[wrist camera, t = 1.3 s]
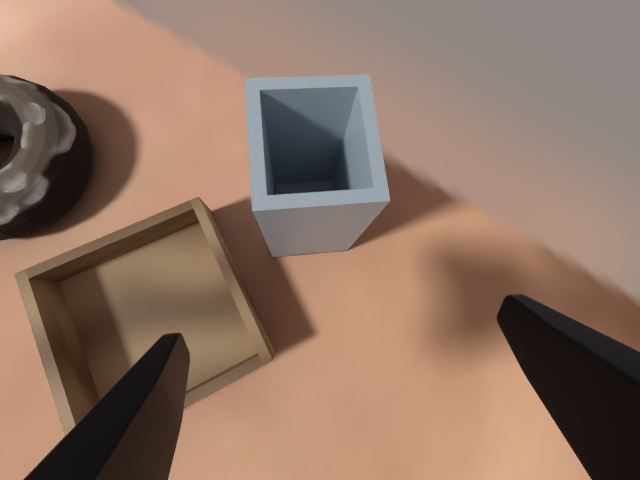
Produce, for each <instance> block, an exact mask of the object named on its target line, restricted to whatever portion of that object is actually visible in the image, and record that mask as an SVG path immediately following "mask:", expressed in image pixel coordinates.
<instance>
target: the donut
mask: <svg viewBox="0 0 640 480" xmlns="http://www.w3.org/2000/svg"><path fill="white" fill-rule="evenodd" d="M7 137H14V145H13V150H12V152H11V154H10V156H9V158H8V159H7V160H6V161H5V163H4V164H3V165H2V166H1V167H0V240H5V239H10V238H16V237H20V236H24V235H26V234H29V233H31V232H33V231H35V230H38V229H40V228H42V227H44V226H46V225H48V224H50V223H51V222H52V221H54V220H55V219H56V218H58V217H59V216H60V215H61V214H63V213H64V212H65V211H67V210H68V209H69V208H70V206H71V205H72V204H73V203H74V201H75V200H76V199H77V198H78V196H79V195H80V194H81V192H82V191H83V189H84V187H85V185H86V182H87V180H88V177H89V175H90V172H91V168H92V155H93V149H92V145H91V142H90V138H89V135H88V131H87V127H86V126H85V124H84V123H83V121H82V120H81V119H80V117H79V116H78V114H77V113H76V112H75V110H74V109H73V108H72V106H71V105H70V104H69V103H67V102H66V101H65V100H63V99H62V98H60V97H59V96H58V95H56V94H55V93H53V92H52V91H50V90H49V89H48V88H46V87H45V86H42V85H39V84H36V83H33V82H30V81H27V80H25V79H22V78H19V77H16V76H10V75H0V140H1V139H4V138H7Z"/></svg>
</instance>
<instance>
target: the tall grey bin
mask: <svg viewBox="0 0 640 480" xmlns="http://www.w3.org/2000/svg"><path fill="white" fill-rule="evenodd" d="M244 80H245V97H246V114H247V131H248V148H249V166H250V183H251V200H252V212H253V214H254V216H255V219H256V221H257V223H258V225H259V228H260V230H261V232H262V234H263V237H264V239H265V241H266V243H267V246H268V248H269V250H270V252H271V255H272V257H284V256H295V255H306V254H317V253H328V252H339V251H347V250H348V249H349V248H350V247H351V246H352V245H353V243H354V242H355V241H356V240H357V239H358V238H359V237H360V235H361V234H362V233H363V232H364V231H365V230H366V228H367V227H368V226H369V225H370V224H371V223H372V222H373V220H374V219H375V218H376V217H377V216H378V215H379V214H380V212H381V211H382V210H383V209H384V208H385V207H386V206H387V204H388V203H389V202H390V195H389V189H388V183H387V177H386V171H385V165H384V159H383V153H382V147H381V141H380V135H379V129H378V123H377V117H376V111H375V105H374V99H373V93H372V87H371V81H370V75H339V76H308V77H307V76H306V77H275V78H274V77H273V78H244Z"/></svg>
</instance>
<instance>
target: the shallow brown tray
mask: <svg viewBox="0 0 640 480" xmlns="http://www.w3.org/2000/svg"><path fill="white" fill-rule="evenodd" d="M15 277H16V281H17V284H18V287H19V290H20V293H21V297H22V300H23V303H24V306H25V309H26V312H27V316H28V319H29V322H30V325H31V328H32V332H33V335H34V338H35V341H36V344H37V347H38V351H39V354H40V357H41V360H42V363H43V367H44V370H45V373H46V376H47V379H48V382H49V386H50V389H51V392H52V395H53V398H54V402H55V405H56V408H57V411H58V414H59V418H60V421H61V424H62V427H63V430H64V433H65V436H66V435H67V434H68V433H69V432H70V431H71V430H72V429H73V428H74V427H75V426H76V424H77V423H78V422H79V421H80V420H81V419H82V418H83V417H84V416H85V415H86V414H87V413H88V412H89V411H90V410H91V409H92V408H93V407H94V406H95V405H96V404H97V403H98V402H99V401H100V400H101V399H102V397H103V396H104V395H105V394H106V393H107V392H108V391H109V390H110V389H111V388H112V387H113V386H114V385H115V384H116V383H117V382H118V381H119V380H120V379H121V378H122V377H123V376H124V375H125V374H126V373H127V371H128V370H129V369H130V368H131V367H132V366H133V365H134V364H135V363H136V362H137V361H138V360H139V359H140V358H141V357H142V356H143V355H144V354H145V353H146V352H147V351H148V350H149V349H150V348H151V347H152V345H153V344H154V343H155V342H156V341H157V340H158V339H159V338H160V337H161V336H163V335H164V334H168V333H177V332H179V333H181V334H182V335H183V337H184V340H185V342H186V345H187V347H188V350H189V353H190V365H189V373H188V380H187V388H186V395H185V403H184V408H185V407H187V406H189V405H190V404H192V403H194V402H196V401H198V400H200V399H201V398H203V397H205V396H207V395H209V394H211V393H213V392H214V391H216V390H218V389H220V388H222V387H224V386H225V385H227V384H229V383H231V382H233V381H235V380H236V379H238V378H240V377H242V376H244V375H246V374H248V373H249V372H251V371H253V370H255V369H257V368H259V367H260V366H262V365H264V364H266V363H268V362H270V361H272V360H273V358H274V356H275V354H276V352H275V350H274V348H273V346H272V343H271V341H270V339H269V337H268V335H267V332H266V330H265V328H264V326H263V324H262V322H261V319H260V317H259V315H258V313H257V311H256V308H255V306H254V304H253V302H252V300H251V297H250V295H249V293H248V291H247V289H246V286H245V284H244V282H243V280H242V278H241V275H240V273H239V271H238V269H237V267H236V265H235V262H234V260H233V258H232V256H231V254H230V251H229V249H228V247H227V245H226V243H225V240H224V238H223V236H222V234H221V232H220V229H219V227H218V225H217V223H216V221H215V218H214V216H213V214H212V212H211V210H210V209H209V208H208V207H207V206H206V205H205V203H204V202H203V201H202V200H201V199H200V198H199V197H197V198H194V199H192V200H189V201H187V202H185V203H182V204H180V205H178V206H175V207H173V208H170V209H168V210H166V211H163V212H161V213H158V214H156V215H154V216H151V217H149V218H147V219H144V220H142V221H139V222H137V223H135V224H132V225H130V226H127V227H125V228H123V229H120V230H118V231H116V232H113V233H111V234H108V235H106V236H104V237H101V238H99V239H96V240H94V241H92V242H89V243H87V244H85V245H82V246H80V247H77V248H75V249H73V250H70V251H68V252H66V253H63V254H61V255H58V256H56V257H54V258H51V259H49V260H46V261H44V262H42V263H39V264H37V265H35V266H32V267H30V268H27V269H25V270H23V271H20V272H18V273H15Z"/></svg>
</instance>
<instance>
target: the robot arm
mask: <svg viewBox="0 0 640 480" xmlns="http://www.w3.org/2000/svg"><path fill="white" fill-rule="evenodd" d="M497 321H498V324H499V326H500V328H501V330H502V332H503V334H504V336H505V338H506V340H507V342H508V344H509V346H510V347H511V349H512V351H513V353H514V355H515V357H516V359H517V361H518V363H519V365H520V367H521V369H522V370H523V372H524V374H525V376H526V377H527V379H528V381H529V382H530V384H531V385H532V387H533V388H534V390H535V392H536V393H537V395H538V396H539V398H540V399H541V401H542V402H543V404H544V406H545V407H546V409H547V410H548V412H549V413H550V415H551V417H552V418H553V420H554V421H555V423H556V424H557V426H558V428H559V429H560V431H561V432H562V434H563V435H564V437H565V439H566V440H567V442H568V443H569V445H570V446H571V448H572V449H573V451H574V453H575V454H576V456H577V457H578V459H579V460H580V462H581V464H582V465H583V467H584V468H585V470H586V471H587V473H588V475H589V476H590V478H591V479H592V480H640V352H638V351H636V350H634V349H632V348H630V347H628V346H626V345H624V344H622V343H620V342H618V341H616V340H614V339H612V338H610V337H608V336H606V335H604V334H602V333H600V332H598V331H596V330H594V329H592V328H590V327H588V326H586V325H584V324H582V323H580V322H578V321H575V320H573V319H571V318H569V317H567V316H565V315H563V314H561V313H559V312H557V311H555V310H553V309H551V308H549V307H547V306H545V305H543V304H541V303H539V302H537V301H535V300H533V299H531V298H529V297H527V296H525V295H522V294H515V295H508V296H506V297H505V298H504V300H503V302H502V305H501V307H500V309H499V312H498V314H497ZM189 365H190V353H189V350H188V347H187V345H186V342H185V340H184V337H183V335H182V334H181V333H179V332H177V333H168V334H164V335H163V336H161V337H160V338H159V339H158V340H157V341H156V342H155V343H154V344H153V345H152V347H151V348H150V349H149V350H148V351H147V352H146V353H145V354H144V355H143V356H142V357H141V358H140V359H139V360H138V361H137V362H136V363H135V364H134V365H133V366H132V367H131V368H130V369H129V370H128V371H127V373H126V374H125V375H124V376H123V377H122V378H121V379H120V380H119V381H118V382H117V383H116V384H115V385H114V386H113V387H112V388H111V389H110V390H109V391H108V392H107V393H106V394H105V395H104V396H103V397H102V399H101V400H100V401H99V402H98V403H97V404H96V405H95V406H94V407H93V408H92V409H91V410H90V411H89V412H88V413H87V414H86V415H85V416H84V417H83V418H82V419H81V420H80V421H79V422H78V423H77V424H76V426H75V427H74V428H73V429H72V430H71V431H70V432H69V433H68V434H67V435H66V436H65V437H64V438H63V439H62V440H61V441H60V442H59V443H58V444H57V445H56V446H55V447H54V448H53V449H52V450H51V452H50V453H49V454H48V455H47V456H46V457H45V458H44V459H43V460H42V461H41V462H40V463H39V464H38V465H37V466H36V467H35V468H34V469H33V470H32V471H31V472H30V473H29V474H28V475H27V476H26V478H25V479H24V480H168V477H169V473H170V469H171V465H172V461H173V457H174V452H175V448H176V444H177V440H178V436H179V432H180V427H181V423H182V417H183V410H184V403H185V395H186V388H187V380H188V373H189Z"/></svg>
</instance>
